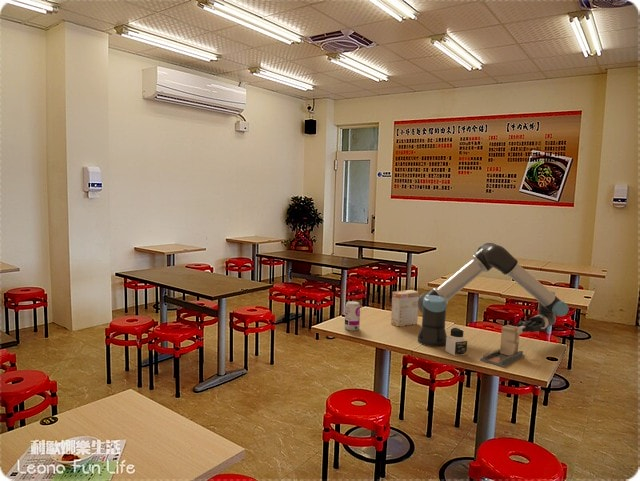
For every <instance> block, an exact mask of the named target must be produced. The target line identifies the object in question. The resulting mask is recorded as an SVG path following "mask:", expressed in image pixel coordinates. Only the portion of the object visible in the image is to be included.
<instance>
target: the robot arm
mask: <svg viewBox="0 0 640 481" xmlns="http://www.w3.org/2000/svg"><path fill="white" fill-rule="evenodd" d="M493 268H494V269H495V270H498V271H500V272H501V274H503V275H504V276H505V275H507V276H508V277H509V278H511V279H512V280H513V281H514V282H515V283H517V284H518V285H519V286H520V287H522V288H523V289H524V290H525V291H526V292H527V293H528V294H530V295H531V296H532V297H533V298H534V299H536V301H537V302H538V309H537V310H538V311H537V315H534V316H532V317H530V318H529V319H528V320H525V321H523V320H522V319H521V320H519V322H518V323H517V327H520V332H519V335H521V334H523V333H527V332H529V333H534V332H540V331H542V332H543V331H545V329H547V328H548V327H549V328H550V327H552V326H553V325H555V323H556V322H557V321H556V320H557V317H565V316H566V315H567V314H568V313H569V310H570V308H569V307H570V306H568V304H567V303H566V302H565V301H563V300H561V299H560V298H559V297H557V296H556V293H555V292H554V291H552V290H549V289H548V288H547V287H546V286H545V285H543V284H542V283H541V282H540V281H539V280H537V278H536V277H534V276H533V275H532V274H531V273H529V271H527V270H526V269H525V268H523V266H521V265H520V263H519V261H518V259H516V258H515V256H513V255H512V254H511V253H510V252H509V251H508V250H507V249H506V248H505V247H504V246H502V245H499V244H496V243H493V242H486V243H482V244H481V245H479V247H478V248H477V250H476V252H475V253H473V254H472V255H471V260H469V261H468V262H467V263H466V264H465V265H463V266H462V267H461V268H460V269H458V270H457V271H456V272H455V273H454V274H452V275H451V276H450V277H449V278H448V279H447V280H445V281H444V282H442V283H441V284H440V285H439V286H438V287H433V288H431V289H430V290H429V291H426V292H423V293H422V294H421V295H419V299H418V311H420V312H421V313H422V314H421V316H422V317H421V318H422V320H421V328H420V330H419V333H418V335H417V342H418V343H419V342H420V344H421V343H422V345H424V344H425V345H424V346H428V345H429V347H444V346H445V347H446V338H447V337H448V335H447V332H446V318H447V317H446V316H447V306H448V304H449V300H451V298H453V297H454V296H455V295H456V294H458V293H459V292H460V291H461V290H462V289H464V288H465V287H466V286H468V285H469V284H470V283H471V282H472V281H474V280H475V279H476V278H477V277H478V276H480V275H481V274H482V273H483V272H484V273H488V272H489V271H490V270H492V269H493ZM556 316H557V317H556Z"/></svg>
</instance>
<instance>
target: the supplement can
mask: <svg viewBox="0 0 640 481" xmlns="http://www.w3.org/2000/svg"><path fill="white" fill-rule="evenodd" d="M344 308H345V309H344V310H345V311H344V329H345V330H348V331H351V330H352V331H354V332H355V331H358V330H359V329H360V321H361V320H360V319H361V318H360V317H361V304H360V302H358V301H354V300H353V301H352V300H350V301H346V303H345V307H344Z"/></svg>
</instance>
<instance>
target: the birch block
mask: <svg viewBox="0 0 640 481" xmlns="http://www.w3.org/2000/svg"><path fill="white" fill-rule="evenodd" d="M519 332H520V327H518V326H515V325H510V324H506V325H503V326H501V336H500V347H499V349H500V353H501V354H505V355H508V356H510V355H512V354H514V353H517V352H519V343H520V334H519Z"/></svg>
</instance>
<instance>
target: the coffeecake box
mask: <svg viewBox="0 0 640 481" xmlns="http://www.w3.org/2000/svg"><path fill="white" fill-rule="evenodd" d="M419 292H420V291H417V290H414V289H408V290H407V289H406V290H398V291H392V294H391V319H390V320H391V321H390V324H391V325H392V324H393V326H396V327H397V326H400V327H405V325H407V326H412V324H413V325H418V319H419V318H418V317H419V316H418V314H419V308H418V299H419V297H420V293H419Z"/></svg>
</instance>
